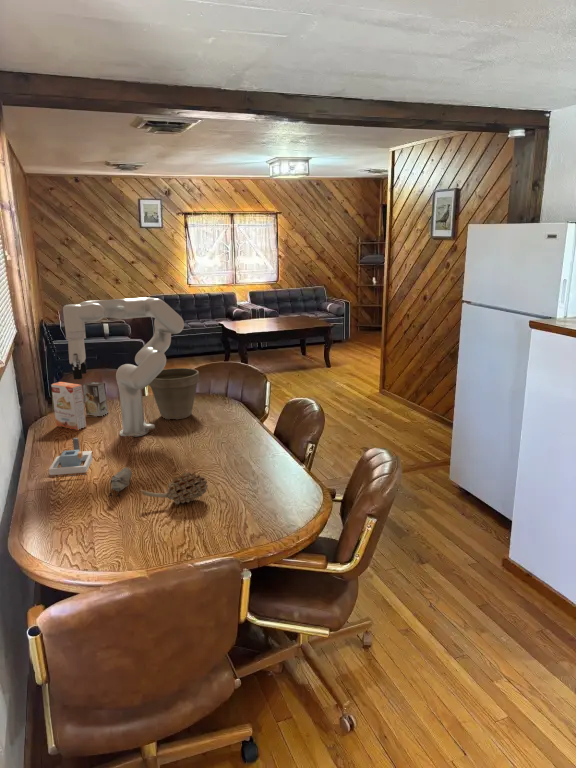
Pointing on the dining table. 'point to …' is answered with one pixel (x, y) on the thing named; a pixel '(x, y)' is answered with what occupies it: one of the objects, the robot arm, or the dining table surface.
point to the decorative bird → (120, 480)
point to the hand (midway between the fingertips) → (80, 376)
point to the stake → (76, 446)
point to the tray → (69, 470)
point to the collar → (71, 458)
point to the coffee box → (95, 398)
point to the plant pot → (175, 392)
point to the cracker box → (69, 405)
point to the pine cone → (183, 488)
